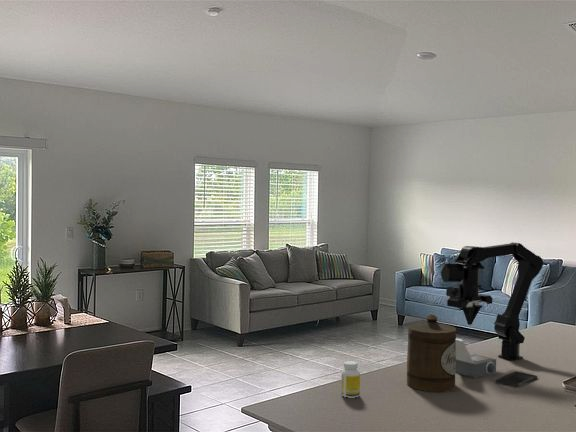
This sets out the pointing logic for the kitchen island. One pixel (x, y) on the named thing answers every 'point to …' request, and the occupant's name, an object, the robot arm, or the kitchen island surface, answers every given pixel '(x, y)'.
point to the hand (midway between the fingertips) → (469, 324)
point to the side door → (462, 352)
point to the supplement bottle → (350, 380)
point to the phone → (516, 379)
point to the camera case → (477, 366)
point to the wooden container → (431, 356)
